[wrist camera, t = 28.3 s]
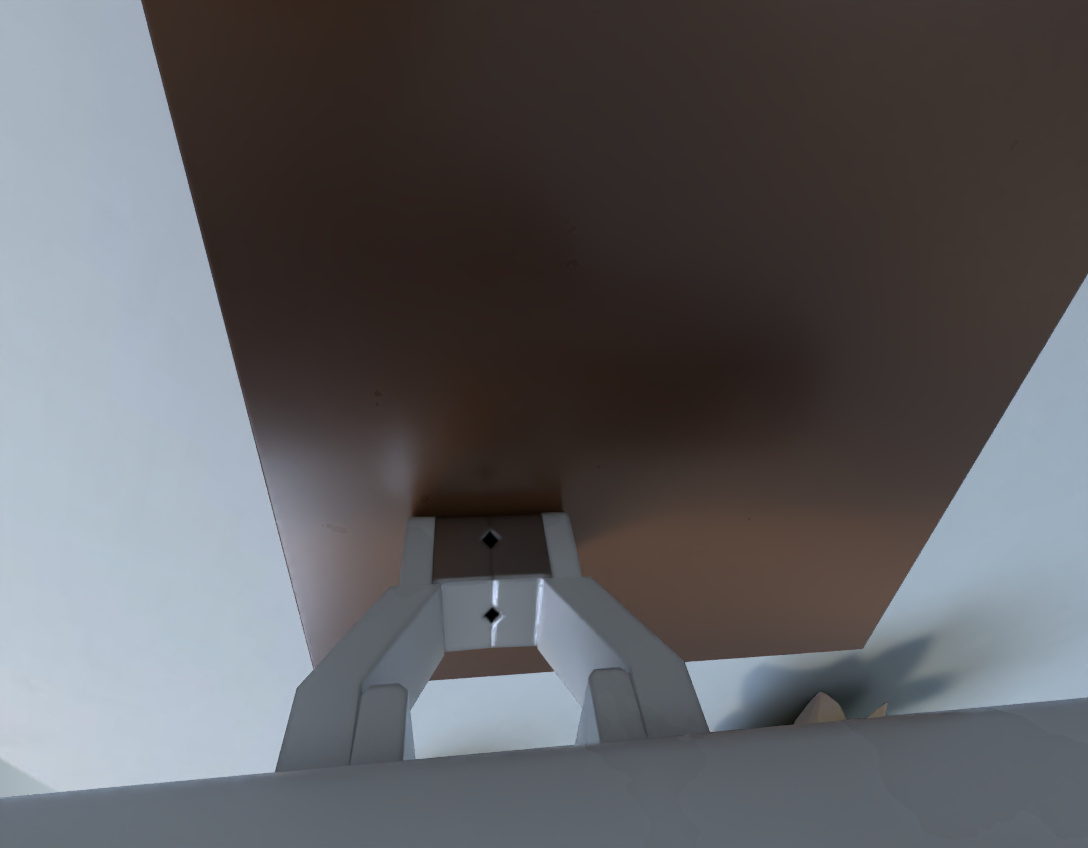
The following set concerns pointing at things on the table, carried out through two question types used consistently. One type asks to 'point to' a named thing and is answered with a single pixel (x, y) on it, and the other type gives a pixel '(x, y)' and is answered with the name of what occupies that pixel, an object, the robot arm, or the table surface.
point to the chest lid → (632, 282)
